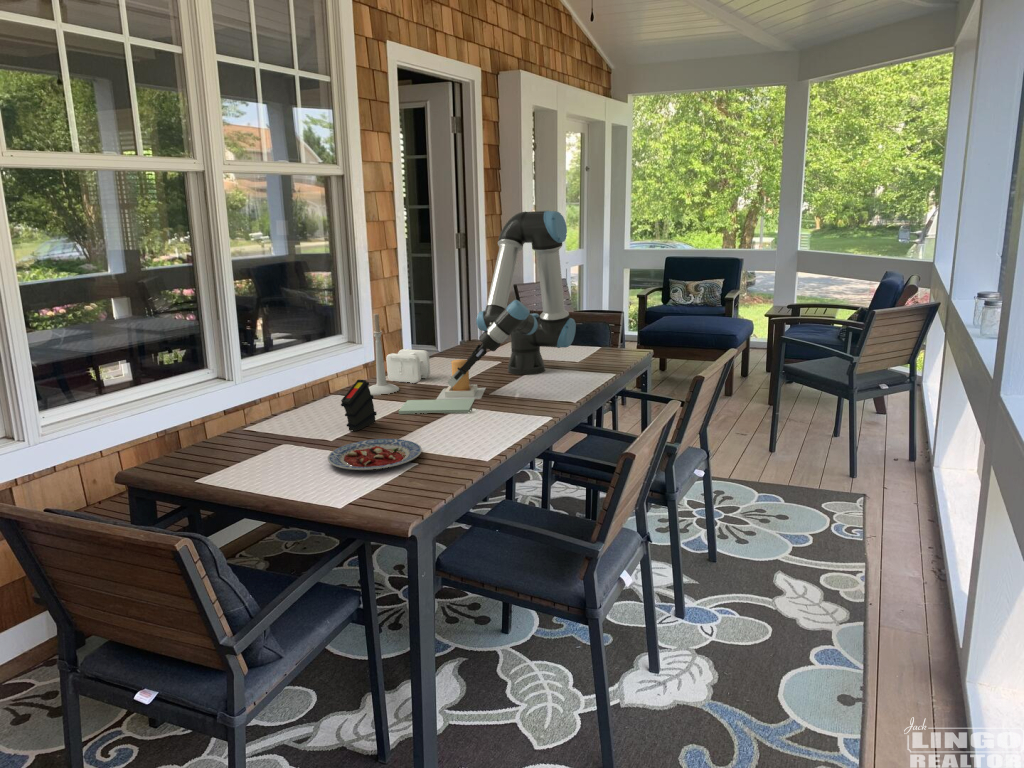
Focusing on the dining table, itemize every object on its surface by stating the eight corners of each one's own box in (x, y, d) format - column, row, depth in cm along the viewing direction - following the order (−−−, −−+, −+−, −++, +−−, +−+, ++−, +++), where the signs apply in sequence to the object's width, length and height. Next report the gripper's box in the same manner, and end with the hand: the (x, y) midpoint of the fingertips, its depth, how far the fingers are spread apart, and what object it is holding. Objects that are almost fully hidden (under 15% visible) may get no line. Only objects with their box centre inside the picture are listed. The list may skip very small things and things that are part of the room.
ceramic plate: (338, 483, 197) (337, 472, 197) (320, 454, 220) (319, 445, 220) (434, 466, 207) (433, 455, 206) (407, 440, 230) (406, 431, 229)
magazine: (382, 415, 252) (367, 379, 243) (362, 442, 243) (346, 406, 234) (372, 414, 254) (357, 378, 245) (352, 441, 245) (336, 405, 236)
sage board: (474, 402, 270) (474, 398, 270) (469, 413, 256) (469, 409, 256) (407, 403, 272) (407, 400, 272) (398, 414, 259) (398, 410, 258)
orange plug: (470, 391, 282) (469, 359, 279) (468, 395, 276) (466, 362, 273) (454, 391, 282) (452, 359, 279) (452, 395, 276) (450, 363, 273)
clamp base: (486, 390, 286) (485, 382, 285) (480, 401, 271) (480, 393, 270) (443, 391, 288) (443, 383, 287) (436, 402, 272) (435, 394, 271)
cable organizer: (432, 378, 309) (430, 350, 306) (418, 384, 300) (416, 355, 297) (402, 376, 316) (400, 348, 313) (386, 382, 306) (384, 353, 304)
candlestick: (372, 386, 299) (366, 310, 292) (403, 387, 297) (398, 310, 290) (359, 395, 287) (352, 315, 280) (392, 395, 284) (385, 315, 277)
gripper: (489, 325, 282) (448, 369, 288) (482, 334, 263) (438, 381, 268) (504, 339, 283) (463, 382, 288) (498, 349, 264) (454, 396, 269)
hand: (451, 382), depth 278 cm, fingers open, 7 cm apart
